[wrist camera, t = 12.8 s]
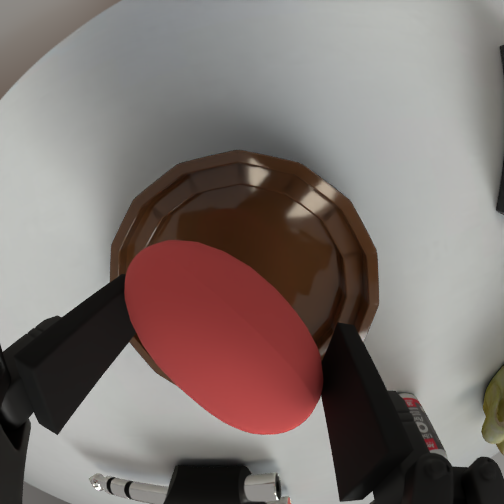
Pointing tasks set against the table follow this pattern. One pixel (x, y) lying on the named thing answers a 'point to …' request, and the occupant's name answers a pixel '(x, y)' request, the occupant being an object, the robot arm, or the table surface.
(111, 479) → the audio adapter
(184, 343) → the stress ball
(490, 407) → the mug
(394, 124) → the table surface
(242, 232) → the plate
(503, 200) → the bin
